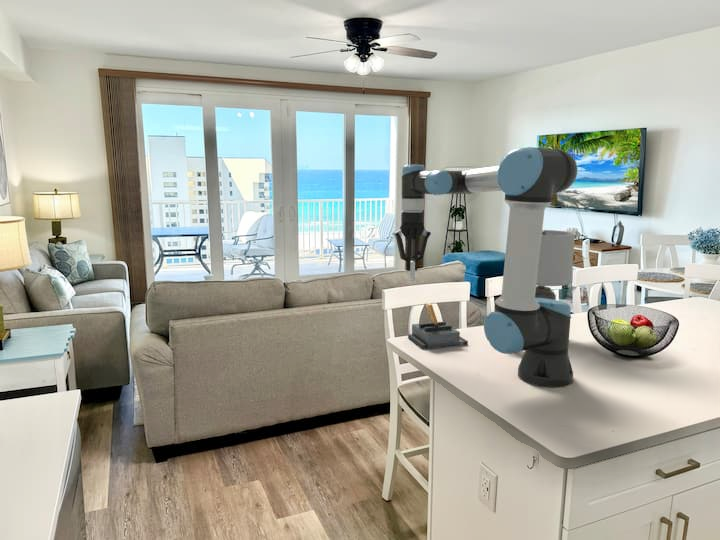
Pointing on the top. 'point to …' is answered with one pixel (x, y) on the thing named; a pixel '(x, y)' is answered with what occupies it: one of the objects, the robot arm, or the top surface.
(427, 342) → the box
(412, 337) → the dark gray bar
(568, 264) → the lamp
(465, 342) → the gray slab
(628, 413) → the top surface
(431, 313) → the lever
